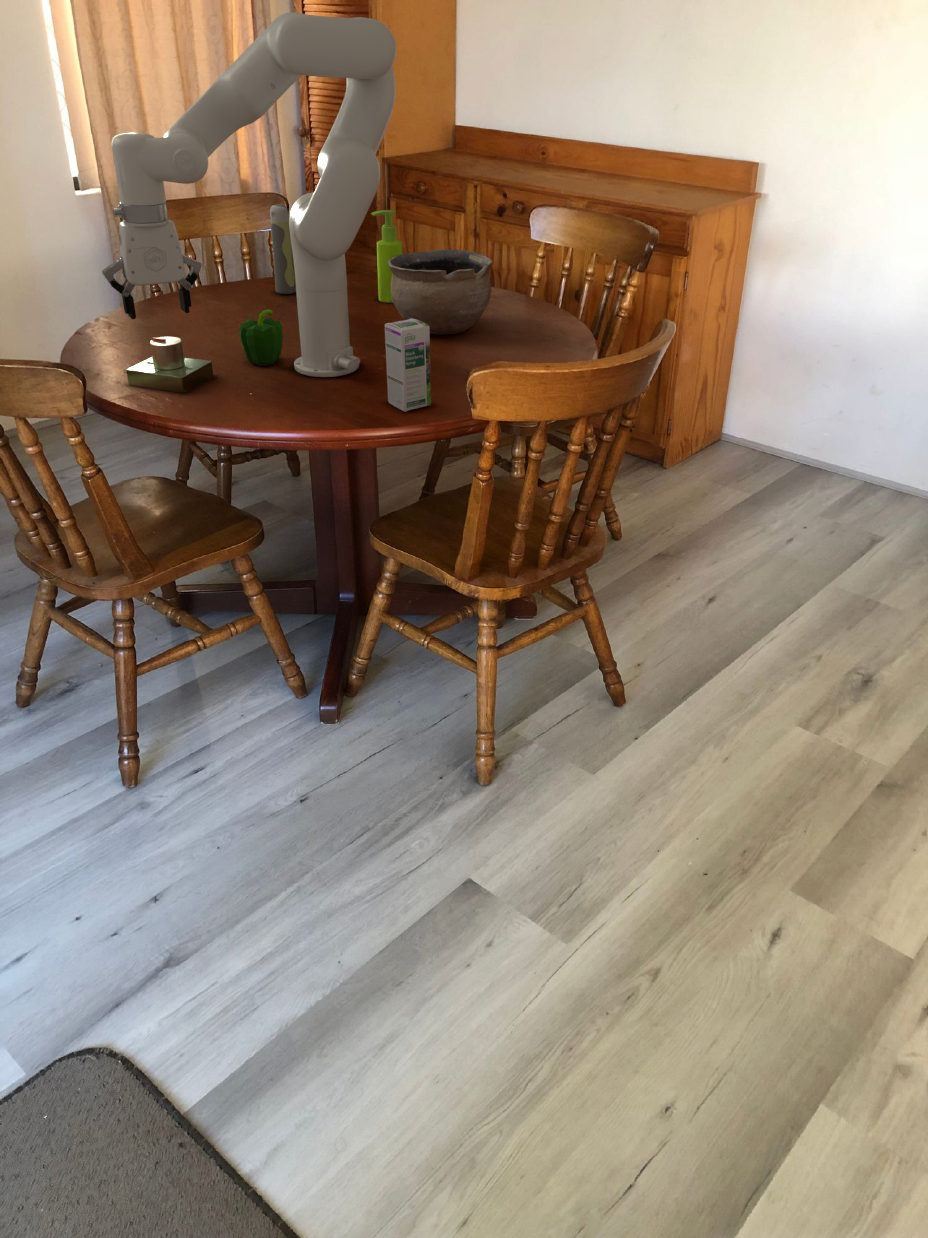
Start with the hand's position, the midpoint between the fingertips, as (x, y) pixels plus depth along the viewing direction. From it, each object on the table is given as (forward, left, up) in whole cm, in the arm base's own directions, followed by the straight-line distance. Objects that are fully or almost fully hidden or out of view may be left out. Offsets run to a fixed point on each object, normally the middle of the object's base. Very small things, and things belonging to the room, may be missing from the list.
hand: (159, 314), depth 176 cm
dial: (0, 0, -9) cm, 9 cm away
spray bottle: (+37, -54, -13) cm, 67 cm away
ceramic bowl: (-11, -60, -13) cm, 63 cm away
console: (0, 0, -13) cm, 13 cm away
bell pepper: (-3, -19, -13) cm, 23 cm away
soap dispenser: (+15, -68, -13) cm, 71 cm away
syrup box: (-40, -24, -13) cm, 49 cm away
